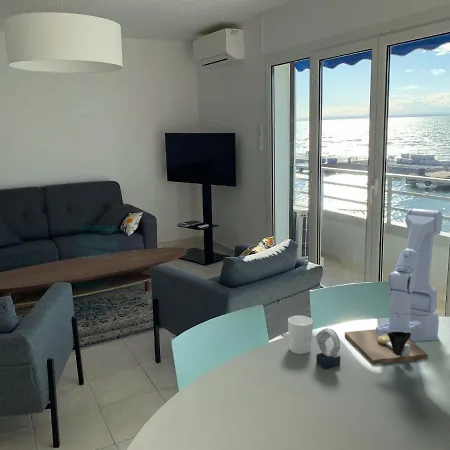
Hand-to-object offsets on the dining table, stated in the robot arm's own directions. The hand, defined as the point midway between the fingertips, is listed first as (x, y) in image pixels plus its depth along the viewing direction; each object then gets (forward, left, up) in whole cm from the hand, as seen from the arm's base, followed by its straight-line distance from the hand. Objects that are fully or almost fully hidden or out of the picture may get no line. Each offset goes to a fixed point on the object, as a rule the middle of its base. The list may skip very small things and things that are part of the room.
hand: (397, 353), depth 142 cm
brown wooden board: (-1, -10, -3) cm, 11 cm away
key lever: (-2, -6, -1) cm, 6 cm away
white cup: (+26, -14, -3) cm, 29 cm away
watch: (+21, -3, -3) cm, 21 cm away
